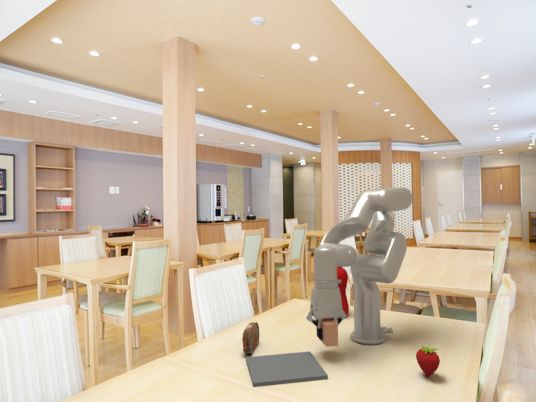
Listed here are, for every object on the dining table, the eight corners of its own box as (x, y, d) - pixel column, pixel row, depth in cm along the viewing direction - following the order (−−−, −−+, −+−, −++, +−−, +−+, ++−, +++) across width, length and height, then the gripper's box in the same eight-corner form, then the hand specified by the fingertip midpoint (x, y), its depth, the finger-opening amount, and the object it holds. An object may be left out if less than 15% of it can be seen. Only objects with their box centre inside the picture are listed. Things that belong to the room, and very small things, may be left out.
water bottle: (347, 320, 162) (346, 262, 162) (323, 316, 168) (322, 261, 168) (354, 314, 170) (353, 259, 170) (332, 311, 176) (331, 258, 176)
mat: (310, 354, 127) (310, 351, 127) (327, 378, 110) (327, 375, 110) (245, 360, 123) (245, 357, 123) (253, 386, 106) (253, 383, 106)
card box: (327, 334, 131) (327, 314, 131) (338, 345, 121) (337, 324, 121) (316, 335, 130) (316, 315, 130) (326, 346, 120) (325, 325, 120)
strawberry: (428, 369, 114) (428, 337, 114) (445, 381, 107) (444, 346, 107) (411, 372, 113) (410, 339, 113) (427, 384, 106) (426, 348, 106)
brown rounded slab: (250, 358, 125) (249, 333, 125) (241, 357, 126) (240, 332, 126) (260, 341, 140) (259, 319, 140) (252, 341, 141) (251, 318, 141)
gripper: (345, 280, 130) (346, 332, 131) (298, 282, 128) (299, 336, 128) (353, 284, 123) (355, 340, 123) (304, 287, 120) (306, 344, 120)
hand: (327, 337), depth 125 cm, fingers closed on card box, 4 cm apart
